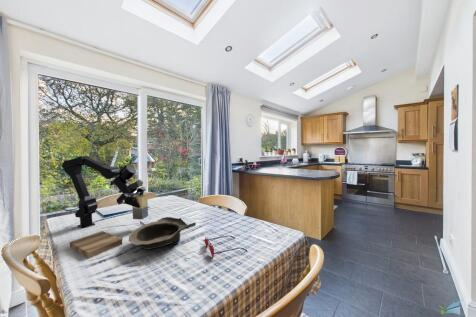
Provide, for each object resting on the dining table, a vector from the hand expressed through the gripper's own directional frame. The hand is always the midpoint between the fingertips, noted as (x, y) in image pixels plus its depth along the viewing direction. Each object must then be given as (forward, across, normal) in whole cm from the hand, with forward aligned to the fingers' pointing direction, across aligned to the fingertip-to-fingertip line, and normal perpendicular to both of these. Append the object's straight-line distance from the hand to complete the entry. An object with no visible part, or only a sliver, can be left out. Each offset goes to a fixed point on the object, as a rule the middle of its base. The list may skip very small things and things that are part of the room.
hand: (142, 205), depth 114 cm
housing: (+4, 0, +6) cm, 7 cm away
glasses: (+44, -16, -26) cm, 54 cm away
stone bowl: (+22, -16, -4) cm, 27 cm away
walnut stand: (+2, -21, +16) cm, 27 cm away
